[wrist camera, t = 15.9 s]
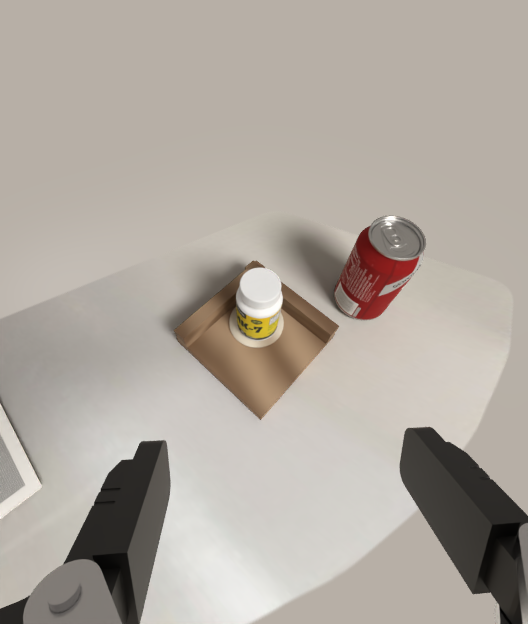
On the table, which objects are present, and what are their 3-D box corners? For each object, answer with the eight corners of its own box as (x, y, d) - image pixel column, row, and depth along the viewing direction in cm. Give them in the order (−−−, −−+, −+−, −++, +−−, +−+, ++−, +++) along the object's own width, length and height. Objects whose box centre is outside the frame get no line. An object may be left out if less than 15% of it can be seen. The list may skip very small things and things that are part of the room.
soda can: (344, 328, 39) (381, 270, 29) (325, 283, 42) (352, 216, 32) (393, 316, 40) (446, 257, 30) (370, 273, 43) (411, 206, 33)
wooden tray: (260, 419, 33) (262, 413, 30) (178, 341, 37) (172, 328, 34) (332, 337, 38) (340, 324, 35) (253, 275, 42) (254, 259, 39)
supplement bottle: (228, 326, 37) (224, 287, 30) (253, 299, 39) (254, 255, 31) (261, 350, 36) (266, 314, 28) (285, 320, 38) (295, 280, 30)
